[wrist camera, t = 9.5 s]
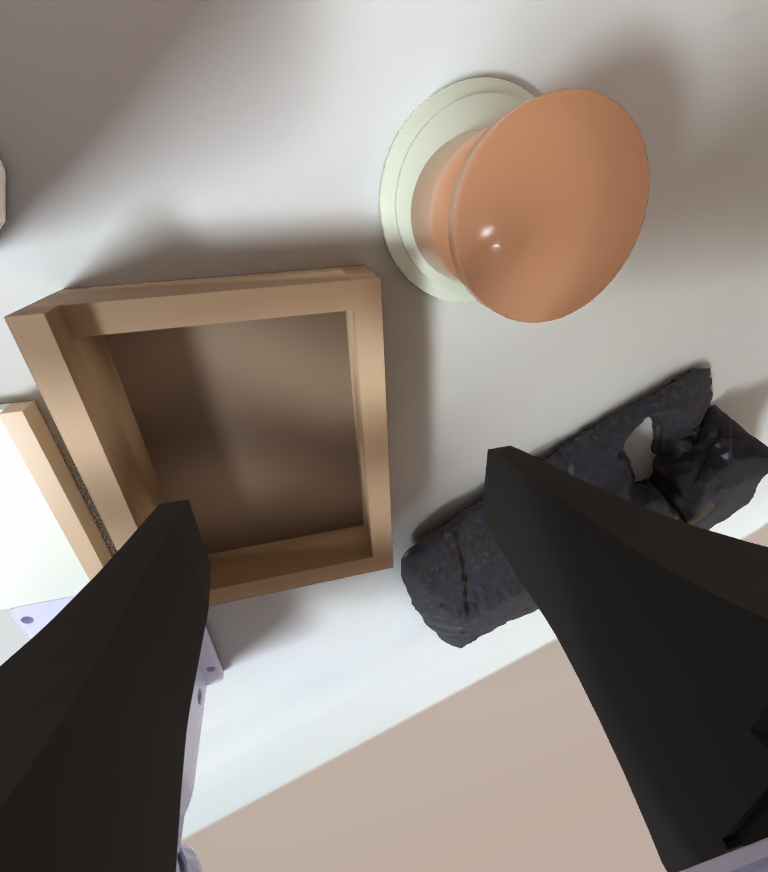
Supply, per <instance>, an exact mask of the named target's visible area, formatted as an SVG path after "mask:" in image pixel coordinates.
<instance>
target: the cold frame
mask: <svg viewBox="0 0 768 872" xmlns="http://www.w3.org/2000/svg"><path fill="white" fill-rule="evenodd" d="M4 318H5V321H6V323H7V325H8V327H9V329H10V331H11V333H12V335H13V337H14V339H15V341H16V343H17V345H18V347H19V349H20V352H21V354H22V356H23V358H24V360H25V362H26V364H27V366H28V368H29V370H30V372H31V374H32V376H33V378H34V380H35V382H36V385H37V387H38V389H39V391H40V393H41V395H42V397H43V399H44V401H45V403H46V405H47V407H48V409H49V411H50V413H51V416H52V418H53V420H54V422H55V424H56V426H57V428H58V430H59V432H60V434H61V436H62V438H63V440H64V442H65V444H66V447H67V449H68V451H69V453H70V455H71V457H72V459H73V461H74V463H75V465H76V467H77V469H78V471H79V473H80V475H81V477H82V480H83V482H84V484H85V486H86V488H87V490H88V492H89V494H90V496H91V498H92V500H93V502H94V504H95V506H96V508H97V511H98V513H99V515H100V517H101V519H102V521H103V523H104V525H105V527H106V529H107V531H108V533H109V535H110V537H111V539H112V542H113V544H114V546H115V548H116V550H117V551H118V550H119V549H120V548H121V547H122V546H123V545H124V544H125V542H126V541H127V540H128V539H129V538H130V537H131V536H132V535H133V533H134V532H135V531H136V530H137V529H138V528H139V526H140V525H141V524H142V523H143V522H144V521H145V520H146V519H147V517H148V516H149V515H150V514H151V513H152V512H153V511H154V510H155V509H156V507H157V506H158V505H159V504H164V503H170V502H176V501H182V500H188V499H189V502H190V505H191V508H192V511H193V514H194V517H195V520H196V523H197V526H198V529H199V532H200V535H201V538H202V540H203V543H204V546H205V549H206V552H207V555H208V558H209V561H210V564H211V575H210V595H209V606H212V605H216V604H221V603H226V602H231V601H235V600H240V599H245V598H250V597H254V596H259V595H264V594H269V593H273V592H278V591H283V590H288V589H293V588H297V587H302V586H307V585H312V584H316V583H321V582H326V581H331V580H335V579H340V578H345V577H350V576H354V575H359V574H364V573H369V572H373V571H378V570H383V569H388V568H393V549H392V526H391V503H390V480H389V457H388V434H387V411H386V387H385V364H384V341H383V318H382V295H381V277H379V276H378V275H377V274H375V273H374V272H373V271H371V270H370V269H369V268H367V267H366V266H365V265H358V266H346V267H334V268H321V269H309V270H296V271H284V272H272V273H259V274H247V275H235V276H222V277H210V278H197V279H185V280H173V281H160V282H148V283H136V284H123V285H111V286H98V287H86V288H74V289H62V290H60V291H58V292H56V293H54V294H51V295H49V296H47V297H45V298H43V299H41V300H39V301H37V302H35V303H33V304H30V305H28V306H26V307H24V308H22V309H20V310H18V311H16V312H14V313H11V314H9V315H7V316H5V317H4Z"/></svg>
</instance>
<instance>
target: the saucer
mask: <svg viewBox="0 0 768 872" xmlns="http://www.w3.org/2000/svg"><path fill="white" fill-rule="evenodd" d="M533 98H535V97H534V96H533V95H532V94H531V93H529V92H528V91H527V90H525V89H524V88H522V87H520V86H518V85H516V84H514V83H512V82H510V81H506V80H503V79H499V78H490V77H480V78H470V79H467V80H463V81H459V82H456V83H454V84H452V85H450V86H448V87H445V88H443V89H442V90H440V91H438V92H437V93H435V94H434V95H432V96H431V97H429V98H428V99H427V100H425V101H424V102H423V103H422V104H421V105H420V106H419V107H418V108H416V109H415V111H414V112H413V113H412V114H411V115H410V116H409V117H408V119H407V120H406V121H405V123H404V124H403V126H402V127H401V129H400V130H399V132H398V133H397V135H396V137H395V139H394V141H393V143H392V145H391V147H390V149H389V152H388V155H387V158H386V160H385V163H384V167H383V172H382V176H381V182H380V190H379V214H380V223H381V228H382V232H383V237H384V240H385V242H386V245H387V248H388V250H389V252H390V254H391V256H392V258H393V260H394V262H395V263H396V265H397V266H398V268H399V269H400V271H401V272H402V273H403V274H404V275H405V276H406V277H407V279H408V280H410V281H411V282H412V283H413V284H414V285H415V286H417V287H418V288H420V289H421V290H423V291H425V292H426V293H428V294H429V295H431V296H434V297H436V298H438V299H441V300H445V301H449V302H456V303H473V302H478V301H477V300H476V299H475V298H474V297H473V296H472V295H471V294H470V293H469V292H468V290H467V289H466V288H465V286H464V285H463V284H460V283H458V282H456V281H454V280H452V279H450V278H448V277H446V276H444V275H442V274H440V273H438V272H437V271H436V270H434V269H433V268H432V267H431V266H430V265H429V264H428V263H427V262H426V261H425V259H424V258H423V257H422V255H421V253H420V251H419V250H418V247H417V245H416V243H415V240H414V236H413V233H412V226H411V202H412V196H413V192H414V188H415V185H416V182H417V180H418V177H419V175H420V173H421V171H422V169H423V168H424V166H425V164H426V163H427V161H428V160H429V159H430V157H431V156H432V155H433V154H434V153H435V152H436V151H437V150H438V149H439V148H440V147H441V146H442V145H444V144H445V143H446V142H448V141H449V140H451V139H453V138H454V137H457V136H459V135H461V134H464V133H468V132H471V131H474V130H478V129H481V128H484V127H488V126H490V125H491V124H492V123H493V122H494V121H496V120H497V119H498V118H499V117H501V116H502V115H503V114H504V113H506V112H507V111H509V110H510V109H512V108H514V107H515V106H517V105H519V104H521V103H523V102H526V101H528V100H530V99H533Z"/></svg>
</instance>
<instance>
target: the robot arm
mask: <svg viewBox="0 0 768 872" xmlns="http://www.w3.org/2000/svg"><path fill="white" fill-rule="evenodd" d="M482 513H483V516H484V518H485V520H486V522H487V524H488V527H489V529H490V531H491V533H492V535H493V537H494V539H495V541H496V543H497V545H498V547H499V548H500V550H501V551H502V553H503V555H504V556H505V558H506V559H507V561H508V562H509V564H510V565H511V567H512V568H513V570H514V572H515V573H516V575H517V576H518V578H519V579H520V581H521V582H522V584H523V585H524V587H525V588H526V590H527V591H528V593H529V594H530V596H531V597H532V599H533V600H534V602H535V603H536V605H537V606H538V608H539V609H540V611H541V612H542V614H543V615H544V617H545V618H546V620H547V621H548V623H549V625H550V626H551V628H552V630H553V631H554V633H555V635H556V636H557V638H558V640H559V642H560V644H561V646H562V647H563V649H564V651H565V653H566V655H567V657H568V659H569V661H570V663H571V664H572V666H573V668H574V670H575V672H576V674H577V676H578V677H579V679H580V682H581V684H582V686H583V688H584V690H585V692H586V694H587V696H588V698H589V700H590V702H591V704H592V706H593V708H594V710H595V712H596V714H597V716H598V718H599V720H600V722H601V724H602V726H603V729H604V731H605V733H606V735H607V737H608V739H609V742H610V744H611V746H612V748H613V750H614V752H615V754H616V756H617V759H618V761H619V763H620V765H621V767H622V769H623V772H624V774H625V776H626V778H627V781H628V783H629V785H630V788H631V790H632V792H633V795H634V797H635V799H636V802H637V804H638V806H639V809H640V811H641V813H642V815H643V818H644V820H645V822H646V825H647V827H648V829H649V832H650V834H651V837H652V839H653V841H654V844H655V847H656V849H657V851H658V854H659V856H660V859H661V861H662V863H663V865H664V867H665V869H666V870H667V872H768V547H765V546H761V545H758V544H754V543H750V542H746V541H743V540H740V539H736V538H733V537H729V536H726V535H723V534H719V533H716V532H712V531H709V530H706V529H703V528H700V527H697V526H693V525H690V524H687V523H685V522H682V521H679V520H676V519H673V518H671V517H668V516H665V515H662V514H660V513H657V512H654V511H651V510H649V509H646V508H644V507H641V506H639V505H636V504H634V503H632V502H629V501H627V500H625V499H622V498H620V497H618V496H615V495H613V494H611V493H608V492H606V491H604V490H602V489H600V488H597V487H595V486H593V485H591V484H589V483H587V482H585V481H583V480H581V479H578V478H576V477H574V476H572V475H570V474H568V473H566V472H564V471H562V470H560V469H558V468H556V467H554V466H552V465H550V464H548V463H546V462H544V461H542V460H540V459H538V458H536V457H534V456H532V455H530V454H528V453H526V452H524V451H522V450H519V449H517V448H515V447H512V446H506V447H500V448H494V449H488V454H487V465H486V475H485V486H484V497H483V507H482ZM210 575H211V564H210V561H209V558H208V555H207V552H206V549H205V546H204V543H203V540H202V538H201V535H200V532H199V529H198V526H197V523H196V520H195V517H194V514H193V511H192V508H191V505H190V502H189V499H188V500H182V501H176V502H170V503H164V504H159V505H158V506H157V507H156V509H155V510H154V511H153V512H152V513H151V514H150V515H149V516H148V517H147V519H146V520H145V521H144V522H143V523H142V524H141V525H140V526H139V528H138V529H137V530H136V531H135V532H134V533H133V535H132V536H131V537H130V538H129V539H128V540H127V541H126V542H125V544H124V545H123V546H122V547H121V548H120V549H119V550H118V551H117V552H116V554H115V555H114V556H113V557H112V558H111V559H110V560H109V561H108V562H107V564H106V565H105V566H104V567H103V568H102V569H101V570H100V571H99V572H98V573H97V574H96V576H95V577H94V578H93V579H92V580H91V581H90V582H89V583H88V584H87V585H86V586H85V587H84V588H83V589H82V590H81V591H80V592H79V593H78V594H77V595H75V596H70V597H64V598H59V599H54V600H49V601H44V602H39V603H34V604H29V605H23V606H18V607H13V608H12V609H11V615H12V616H13V618H14V619H15V621H16V622H17V623H18V625H19V626H20V627H21V629H22V630H23V631H24V633H25V634H26V636H27V637H28V638H29V640H30V641H28V642H27V643H26V644H25V645H24V646H23V647H22V648H20V649H19V650H18V651H17V652H16V653H15V654H14V655H13V656H11V657H10V658H9V659H8V660H7V661H6V662H5V663H3V664H2V665H1V666H0V872H202V868H201V864H200V861H199V858H198V856H197V853H196V852H195V850H194V849H193V848H192V847H190V846H187V845H180V844H181V837H182V829H183V822H184V815H185V813H186V810H187V808H188V806H189V803H190V800H191V797H192V793H193V788H194V781H195V773H196V765H197V757H198V749H199V741H200V733H201V725H202V717H203V709H204V701H205V693H206V686H207V685H211V684H215V683H218V682H220V681H221V680H222V679H223V674H224V672H223V669H222V666H221V664H220V661H219V659H218V656H217V654H216V651H215V648H214V646H213V643H212V641H211V638H210V636H209V633H208V630H207V628H206V620H207V614H208V608H209V595H210Z"/></svg>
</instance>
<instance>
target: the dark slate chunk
mask: <svg viewBox="0 0 768 872" xmlns="http://www.w3.org/2000/svg"><path fill="white" fill-rule="evenodd" d="M709 376H710V369H709V368H708V369H697V368H695V369H691V370H690V372H689V373H688V374H687V375H680V376H678V377H676V378H675V379H673V380H672V381H671V384H669V385H667V386H665V387H664V388H662V389H661V390H660V391H659V392H658V393H656V394H654V395H652V396H648V397H645V398H643V399H642V400H641V401H639V402H638V403H635V404H633V405H631V406H629V407H626V408H624V409H622V410H620V411H618V412H616V413H614V414H612V415H610V416H608V417H607V418H605V419H604V420H603V421H601V422H600V423H598V424H597V425H596V426H595V427H592V428H589V429H587V430H585V431H583V432H582V433H581V434H580V435H579V436H578V437H577V438H575V439H571V438H570V439H569V440H568V441H567V442H566V443H565V444H563V445H562V446H561V447H560V448H559V449H558V450H557V451H556V452H555V453H554V454H552V455H551V456H550V457H549V458H548V459H547V460H546V461H545V462H546V463H548V464H550V465H552V466H554V467H556V468H558V469H560V470H562V471H564V472H566V473H568V474H570V475H572V476H574V477H576V478H578V479H581V480H583V481H585V482H587V483H589V484H591V485H593V486H595V487H597V488H600V489H602V490H604V491H606V492H608V493H611V494H613V495H615V496H618V497H620V498H622V499H625V500H627V501H629V502H632V503H634V504H636V505H639V506H641V507H644V508H646V509H649V510H651V511H654V512H657V513H660V514H662V515H665V516H668V517H671V518H673V519H676V520H679V521H682V522H685V523H687V524H690V525H693V526H697V527H700V528H703V529H706V530H709V529H710V528H712V527H713V526H714V525H715V524H717V523H720V522H722V521H724V520H726V519H727V518H729V517H730V516H731V515H732V514H734V513H735V512H736V511H738V510H739V509H740V508H742V507H743V506H745V505H747V504H748V503H749V502H750V500H751V499H752V498H753V496H754V493H755V492H756V488H757V485H758V483H759V482H760V481H761V479H762V478H763V477H764V476H765V475H766V474H767V473H768V447H767V446H766V445H764V444H763V443H762V442H760V441H759V440H758V439H756V438H754V437H753V436H751V435H750V434H748V433H747V432H746V431H745V430H744V429H743V428H742V427H741V426H740V425H738V424H737V423H736V422H735V421H734V420H731V419H730V417H729V416H728V415H726V414H725V413H724V412H722V411H721V410H720V409H719V408H718V407H717V406H716V405H714V406H710V407H709V405H710V402H711V400H712V396H713V393H712V391H711V384H712V379H711V378H710V377H709ZM708 407H709V408H708ZM647 417H650V418H651V420H652V429H653V435H654V438H653V442H652V445H651V451H652V452H653V453H654V454H656V455H657V456H656V457H654V459H653V474H652V475H651V476H650V478H649V479H648V480H647V479H646V478H645V479H644V480H642V481H637V482H634V479H635V474H634V473H633V470H632V467H631V463H630V460H629V458H628V456H627V455H626V453H625V452H624V451H623V446H624V442H625V441H626V439H627V438H628V437H629V436H630V434H631V433H632V432H633V430H634V429H635V428H636V427H637V426H639V425H640V424H641V423H642V422H643V421H644V419H645V418H647ZM482 507H483V498H482V499H481V500H480V501H479V502H477V503H476V504H473V505H471V506H469V507H467V508H465V509H463V510H462V511H460V512H459V513H458V514H457V515H456V516H455V517H454V518H453V519H452V520H450V521H449V522H447V523H445V524H443V525H442V526H441V527H440V528H438V529H437V530H435V531H433V532H432V533H430V534H429V535H427V536H426V537H425V538H423V539H422V540H421V541H419V542H418V543H417V544H415V545H414V546H412V547H411V548H410V549H408V550H407V551H406V553H405V554H404V555H403V557H402V559H401V576H402V579H403V582H404V584H405V586H406V587H407V592H408V594H409V595H410V597H411V600H412V605H413V606H414V607H415V609H416V610H417V611H418V612H419V613H420V614H421V615H422V617H423V620H424V622H425V624H426V625H427V626H429V627H430V628H431V629H432V630H434V631H435V632H437V635H438V636H439V637H440V638H441V639H442V640H443V641H444V642H446V643H448V644H450V645H452V646H456V647H458V648H463V647H464V646H465V645H467V644H469V643H472V642H473V641H475V640H476V639H477V638H478V637H480V636H482V635H484V634H486V633H489V632H491V631H493V630H494V629H495V628H497V627H499V626H501V625H504V624H506V622H507V621H510V620H514V619H517V618H520V617H522V616H524V615H526V614H529V613H532V612H534V611H536V610H537V609H539V608H538V606H537V605H536V603H535V602H534V600H533V599H532V597H531V596H530V594H529V593H528V591H527V590H526V588H525V587H524V585H523V584H522V582H521V581H520V579H519V578H518V576H517V575H516V573H515V572H514V570H513V568H512V567H511V565H510V564H509V562H508V561H507V559H506V558H505V556H504V555H503V553H502V551H501V550H500V548H499V547H498V545H497V543H496V541H495V539H494V537H493V535H492V533H491V531H490V529H489V527H488V524H487V522H486V520H485V518H484V516H483V513H482Z"/></svg>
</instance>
